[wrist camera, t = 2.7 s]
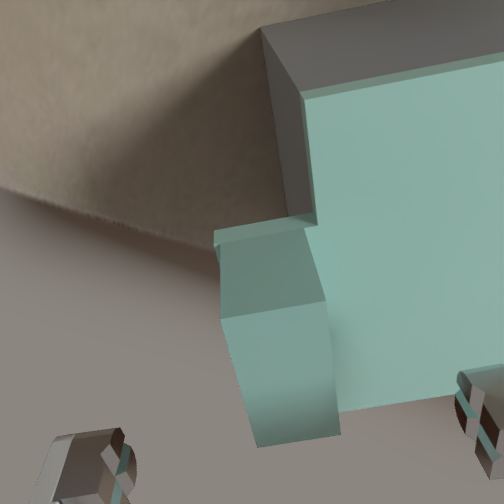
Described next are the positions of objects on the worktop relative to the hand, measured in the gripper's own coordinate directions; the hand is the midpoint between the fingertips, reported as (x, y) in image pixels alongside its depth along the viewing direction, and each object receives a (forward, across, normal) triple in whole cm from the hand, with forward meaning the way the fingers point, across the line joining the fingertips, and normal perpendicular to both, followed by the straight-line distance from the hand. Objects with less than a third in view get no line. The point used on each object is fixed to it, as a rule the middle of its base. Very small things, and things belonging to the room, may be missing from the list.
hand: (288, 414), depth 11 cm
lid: (+5, -7, 0) cm, 9 cm away
